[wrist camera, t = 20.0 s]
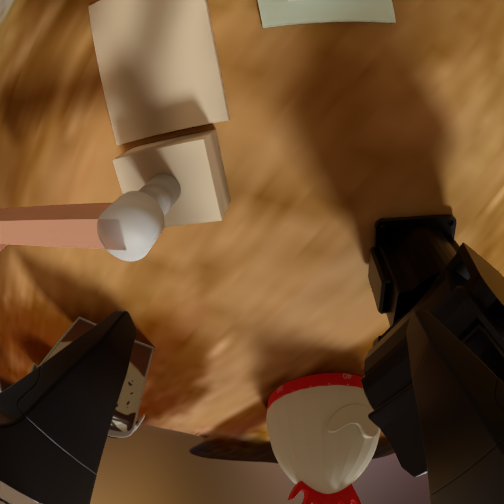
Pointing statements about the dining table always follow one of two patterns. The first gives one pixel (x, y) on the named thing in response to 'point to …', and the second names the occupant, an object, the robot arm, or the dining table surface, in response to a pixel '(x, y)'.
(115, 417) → the food container
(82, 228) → the latch bar
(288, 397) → the kitchen timer
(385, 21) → the mat
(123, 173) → the housing
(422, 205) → the dining table surface
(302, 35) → the dining table surface
